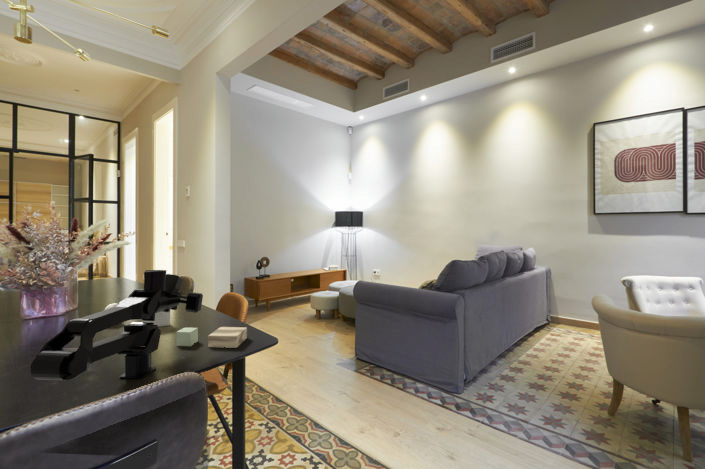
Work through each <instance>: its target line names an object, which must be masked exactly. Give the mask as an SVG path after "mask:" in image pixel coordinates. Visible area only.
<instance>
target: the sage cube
mask: <svg viewBox="0 0 705 469" xmlns="http://www.w3.org/2000/svg"><path fill="white" fill-rule="evenodd" d="M198 329H199V327H183V328H180V329H179V330H177V331H176V346H177V347H192V346H194V345H195V344H196V343H197V342H198V341H199V330H198ZM194 343H195V344H194Z"/></svg>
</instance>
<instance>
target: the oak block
mask: <svg viewBox="0 0 705 469" xmlns="http://www.w3.org/2000/svg"><path fill="white" fill-rule="evenodd" d="M247 338H248V327H246V326H245V327H241V326H220V327H218V328H217V329H215V330H214V331H213V332H211V333H210V334H208V336H207V340H208V342H207V344H208V345H207V347H208V348H224V347H225V349H226V348H229V349H232V348H234V349H235V348H236V349H237V348H238V347H239V346H240V345H241V344H242V343H243V342H245V341H246V339H247Z"/></svg>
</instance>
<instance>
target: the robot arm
mask: <svg viewBox="0 0 705 469" xmlns="http://www.w3.org/2000/svg"><path fill="white" fill-rule="evenodd" d="M143 273H144V274H143V279H144V280H143V289H142V288H141V289H134V290H133V291H131V293H130V294H129V295H128V296H127V297H126V298H124V299H122V300H120V301H119V302H118V303H117V304H118V306H116V307H113V308H110V309H107V310H105V309H104V310H101V311H98V312H95V313H92V314H89V315H85V316H83V317H79V318H74V319H71V320H69V321H68V322H67V323H66V324H65V326H64V327H63V329H62V330H61V331H60V332H59V333H57V334H56V335H54V336H53V337H52V338H50V339H49V340H48V341H47V342H46V343H44V344H43V346H42V347H41V349H40V350H39V352H38V353H37V354H36V355H35V357H34V359H33V360H32V362H31V364H30V375H31V377H32V378H33V379H34V380H38V381H39V380H41V381H42V380H47V381H71V380H74V379H76V378H77V377H79V376H80V375H82V374H84V373H85V372H86V371H87V370H88V368H90V365H91V364H94V363H96V362H98V361H102V360H104V359H106V358H109V357H112V356H114V355H116V354H117V355H119V356H120V355H124V372H123V373H122V374H121V375H119V378H120V379H139V380H140V379H141V380H142V379H144V378H145V377H146V376H148V375H149V374H150V373H152V372H154V371H155V370H156V369H157V367H156V366H152V353H154V352H156V351H158V349H159V345H160V338H161V334H162V333H161V332H162V331H161V329H160V328H159V327H158V325H153V324H154V323H146V322H142V320H143V321H154V320H155V313H158V312H170V313H171V311H172V310H173V311H177V310H178V306H179V305H180V304H185V308H184V309H185V312H189V313H195V314H196V313H197V314H198V313H199V312H201V310H202V304H203V297H204V295H203V293H200V292H195V291H192V292H188V294H187V295H183V294H182V291H179V290H180V289H181V286H182V284H183V281H184V278H182V277H181V276H179V275H178V274H170V273H167V270H166V269H146V270H144V272H143ZM181 294H182V295H181ZM133 320H135V321H133ZM136 320H141V322H138V321H137V322H136ZM127 321H131V322H130V323H128V324H123V323H125V322H127ZM120 324H123V329H122V332H121V333H118V334H115V335H111V336H110V337H106V338H103V339H99V340H97V341H94V337H95V336H96V335H97V333H99V332H102V331H105V330H107V329H109V328H112V327H115V326H118V325H120ZM75 338H80V340H79V342H80V345H79V346H78V347H68V348H67V347H66V348H64V347H65V346H67V345H68V344H69V343H71V342H72V341H73V340H74V339H75ZM93 341H94V342H93Z"/></svg>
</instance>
